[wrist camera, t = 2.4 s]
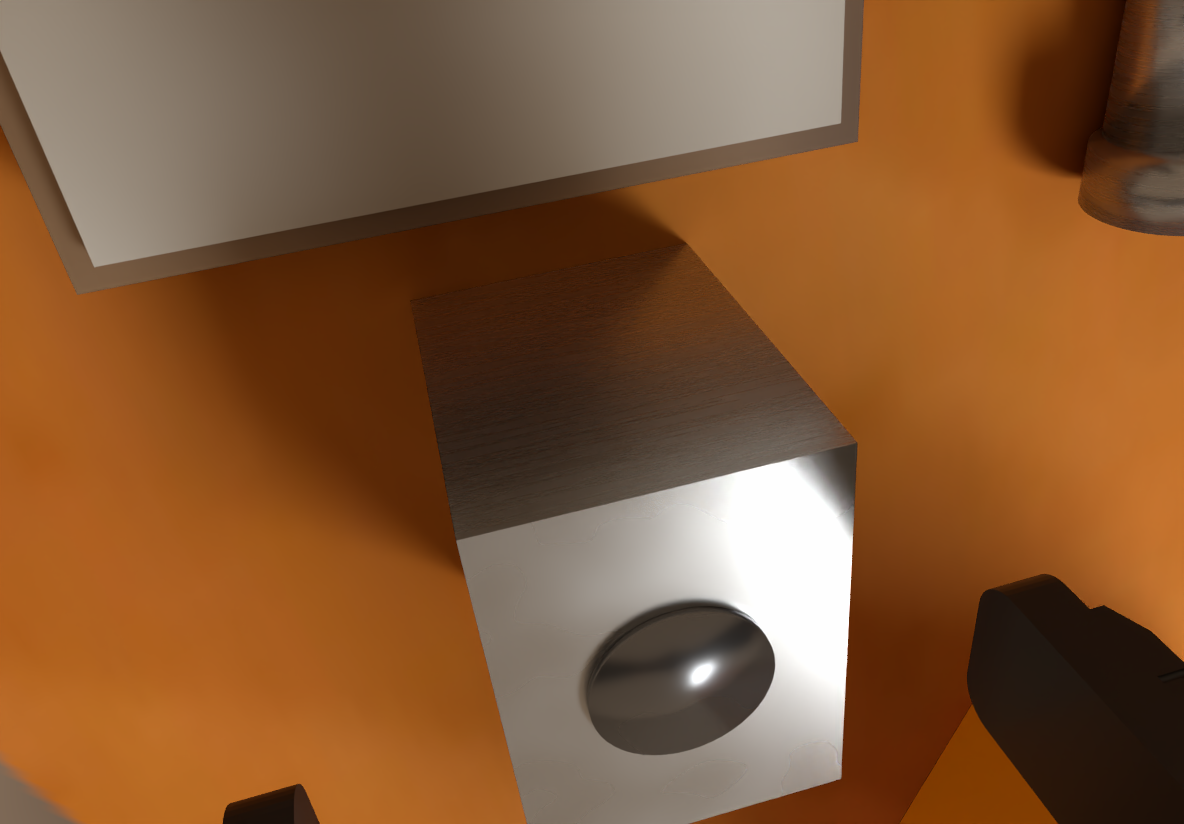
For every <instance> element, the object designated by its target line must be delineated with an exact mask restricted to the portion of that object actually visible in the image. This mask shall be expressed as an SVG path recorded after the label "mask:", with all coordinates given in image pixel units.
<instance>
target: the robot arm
mask: <svg viewBox="0 0 1184 824" xmlns="http://www.w3.org/2000/svg"><path fill="white" fill-rule="evenodd" d="M967 684H968V690H969V694H970V698H971V701H972V704H973V706H974V709H975V711H976V713H977V715H978V717H979V719H980V720H981V722H982V724H983V725H984V727H985V728H986V729H987V731H988V732H989V733H990V735H991V736H992V737H993V739H994V740H995V741H996V743H997V744H998V745H999V747H1000V748H1001V749H1002V751H1003V752H1004V753H1005V754H1006V756H1007V757H1008V758H1009V760H1010V761H1011V762H1012V764H1013V765H1014V766H1015V768H1016V769H1017V770H1018V772H1019V773H1020V774H1021V776H1022V777H1023V778H1024V780H1025V781H1026V782H1027V783H1028V785H1029V786H1030V787H1031V789H1032V790H1033V791H1034V793H1035V794H1036V795H1037V797H1038V798H1039V799H1040V801H1041V802H1042V803H1043V805H1044V806H1045V807H1046V808H1047V810H1048V811H1049V812H1050V814H1051V815H1052V816H1053V818H1054V819H1055V820H1056V822H1057V823H1058V824H1184V662H1183V661H1182V660H1181V659H1180V658H1179V657H1178V656H1177V655H1176V654H1174V653H1173V652H1172V651H1171V650H1170V649H1169V648H1168V647H1167V646H1166V645H1165V644H1164V643H1163V642H1162V641H1161V640H1160V639H1159V638H1158V637H1157V636H1156V635H1155V634H1153V633H1152V632H1151V631H1150V630H1148V629H1146V628H1144V627H1142V626H1141V625H1139V624H1137V623H1135V622H1133V621H1131V620H1130V619H1128V618H1126V617H1124V616H1122V615H1121V614H1119V613H1117V612H1115V611H1113V610H1111V609H1110V608H1108V607H1106V606H1104V605H1103V606H1100V607H1096V608H1093V609H1089V608H1088V607H1087V606H1086V605H1085V604H1084V603H1083V602H1082V601H1081V600H1080V599H1079V598H1078V597H1077V596H1076V595H1075V594H1074V593H1073V592H1072V591H1071V590H1070V589H1069V588H1068V587H1067V586H1066V585H1065V584H1064V583H1063V582H1061V581H1060V580H1059V579H1057V578H1056V577H1054V576H1051V575H1048V574H1041V575H1038V576H1034V577H1031V578H1027V579H1024V580H1020V581H1017V582H1013V583H1010V584H1006V585H1003V586H999V587H996V588H992V589H989V590H987V591H985V592H984V593H983V594H982V596H981V598H980V602H979V608H978V613H977V619H976V625H975V631H974V637H973V643H972V648H971V654H970V660H969V666H968V672H967ZM223 824H320V823H319V821H318V819H317V816H316V814H315V812H314V810H313V807H312V805H311V803H310V800H309V798H308V796H307V793H306V791H305V789H304V788H303V786H302V785H301V784H296V785H293V786H289V787H286V788H282V789H279V790H275V791H272V792H268V793H265V794H261V795H258V796H254V797H251V798H247V799H244V800H240V801H237V802H233V803H230V804H229V805H228V806H227V807H226V810H225V813H224V818H223Z"/></svg>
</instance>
